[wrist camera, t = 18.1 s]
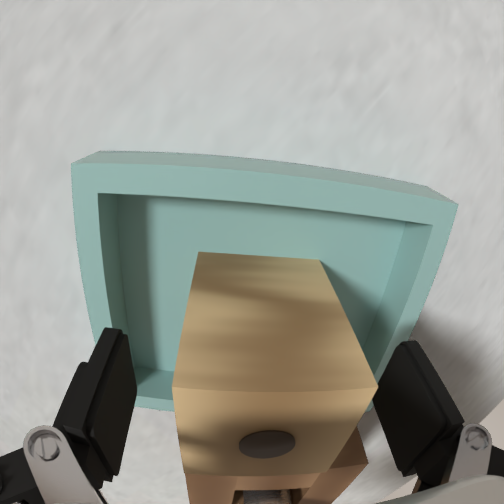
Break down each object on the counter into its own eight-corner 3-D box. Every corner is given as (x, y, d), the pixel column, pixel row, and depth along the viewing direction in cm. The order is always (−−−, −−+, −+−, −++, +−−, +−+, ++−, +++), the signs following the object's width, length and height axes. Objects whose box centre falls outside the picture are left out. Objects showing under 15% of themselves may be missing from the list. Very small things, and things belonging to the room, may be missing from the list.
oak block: (197, 344, 15) (184, 475, 9) (198, 251, 13) (170, 390, 7) (298, 348, 16) (327, 474, 9) (319, 259, 13) (379, 389, 7)
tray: (122, 369, 17) (111, 402, 14) (99, 151, 11) (71, 163, 9) (358, 380, 18) (369, 411, 16) (426, 186, 13) (458, 204, 10)
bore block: (194, 466, 22) (192, 517, 18) (191, 399, 18) (184, 469, 13) (311, 466, 23) (320, 514, 18) (348, 400, 19) (368, 463, 14)
